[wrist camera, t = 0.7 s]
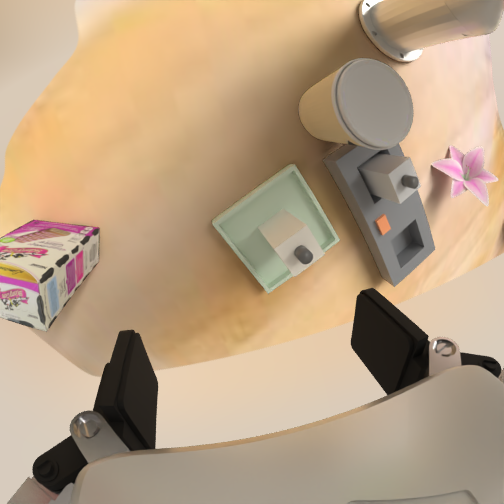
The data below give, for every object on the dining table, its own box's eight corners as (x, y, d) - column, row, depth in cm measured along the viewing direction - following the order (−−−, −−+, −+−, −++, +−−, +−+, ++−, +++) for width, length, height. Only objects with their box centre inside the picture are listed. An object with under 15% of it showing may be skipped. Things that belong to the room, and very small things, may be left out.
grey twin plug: (372, 153, 34) (419, 158, 25) (383, 177, 36) (429, 188, 27) (351, 167, 34) (397, 176, 25) (364, 191, 36) (409, 207, 27)
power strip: (322, 160, 34) (337, 161, 30) (374, 124, 33) (392, 124, 29) (381, 277, 42) (396, 288, 39) (421, 241, 42) (437, 250, 38)
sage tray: (290, 163, 33) (295, 164, 32) (334, 236, 38) (340, 240, 36) (211, 220, 34) (212, 224, 32) (265, 287, 39) (268, 293, 37)
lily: (464, 144, 38) (487, 130, 29) (483, 202, 38) (510, 198, 29) (417, 155, 41) (436, 140, 32) (438, 218, 41) (461, 215, 32)
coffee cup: (318, 160, 34) (371, 168, 23) (277, 100, 30) (317, 78, 19) (367, 126, 33) (427, 124, 22) (331, 68, 29) (385, 44, 18)
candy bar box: (100, 224, 31) (40, 282, 16) (100, 261, 33) (49, 335, 18) (32, 216, 28) (-43, 262, 13) (33, 251, 30) (-32, 309, 15)
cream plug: (283, 208, 34) (313, 229, 26) (299, 232, 36) (331, 260, 27) (257, 227, 35) (278, 254, 26) (274, 250, 36) (299, 284, 27)
